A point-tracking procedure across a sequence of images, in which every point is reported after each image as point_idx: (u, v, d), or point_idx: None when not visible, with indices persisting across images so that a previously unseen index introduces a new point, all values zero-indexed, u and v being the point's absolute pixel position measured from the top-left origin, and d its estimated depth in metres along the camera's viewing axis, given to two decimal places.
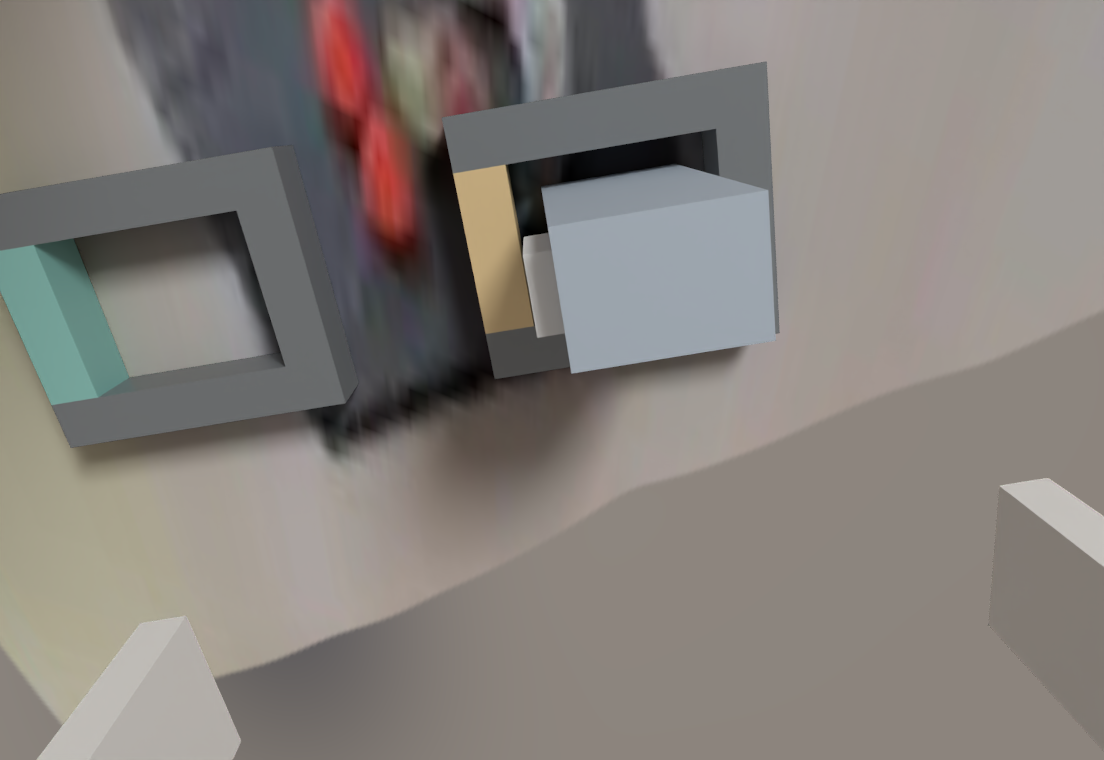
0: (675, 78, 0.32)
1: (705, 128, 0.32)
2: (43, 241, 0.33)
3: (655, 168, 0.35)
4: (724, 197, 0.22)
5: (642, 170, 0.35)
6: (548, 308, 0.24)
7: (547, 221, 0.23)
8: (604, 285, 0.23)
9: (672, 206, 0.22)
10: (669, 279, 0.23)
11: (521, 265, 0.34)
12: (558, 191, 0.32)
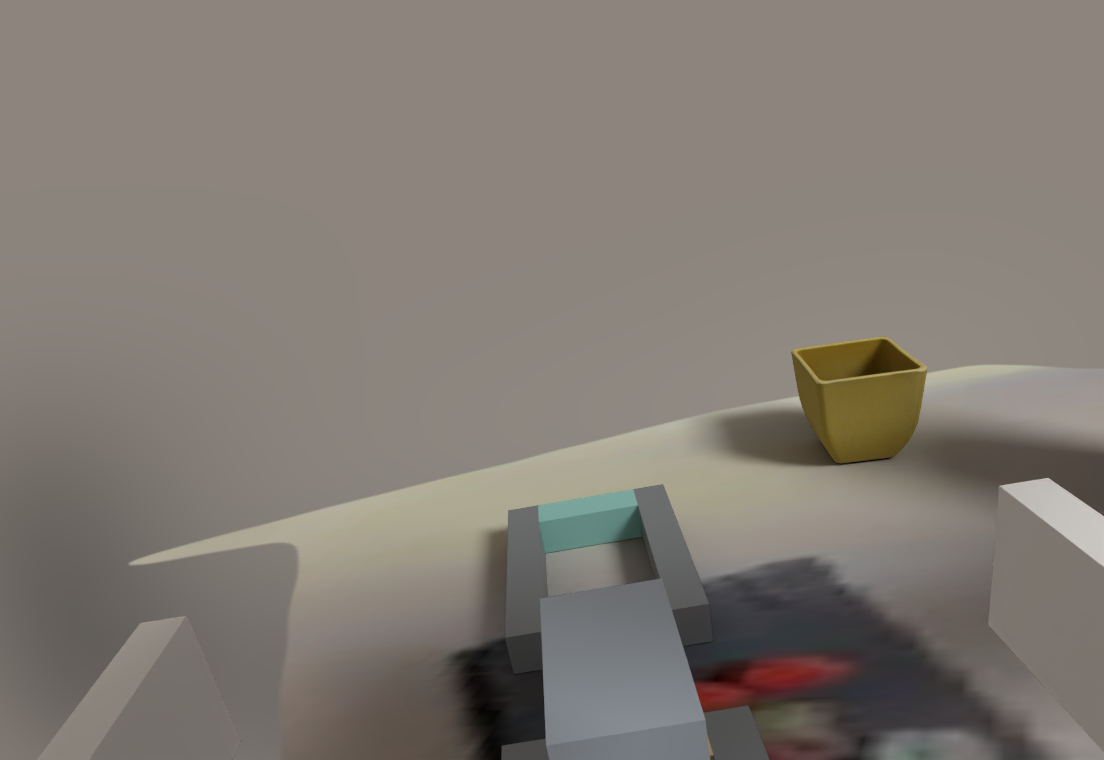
0: None
1: None
2: (640, 508, 0.55)
3: None
4: (694, 688, 0.23)
5: None
6: None
7: None
8: (614, 612, 0.27)
9: (683, 649, 0.24)
10: (617, 653, 0.25)
11: None
12: None
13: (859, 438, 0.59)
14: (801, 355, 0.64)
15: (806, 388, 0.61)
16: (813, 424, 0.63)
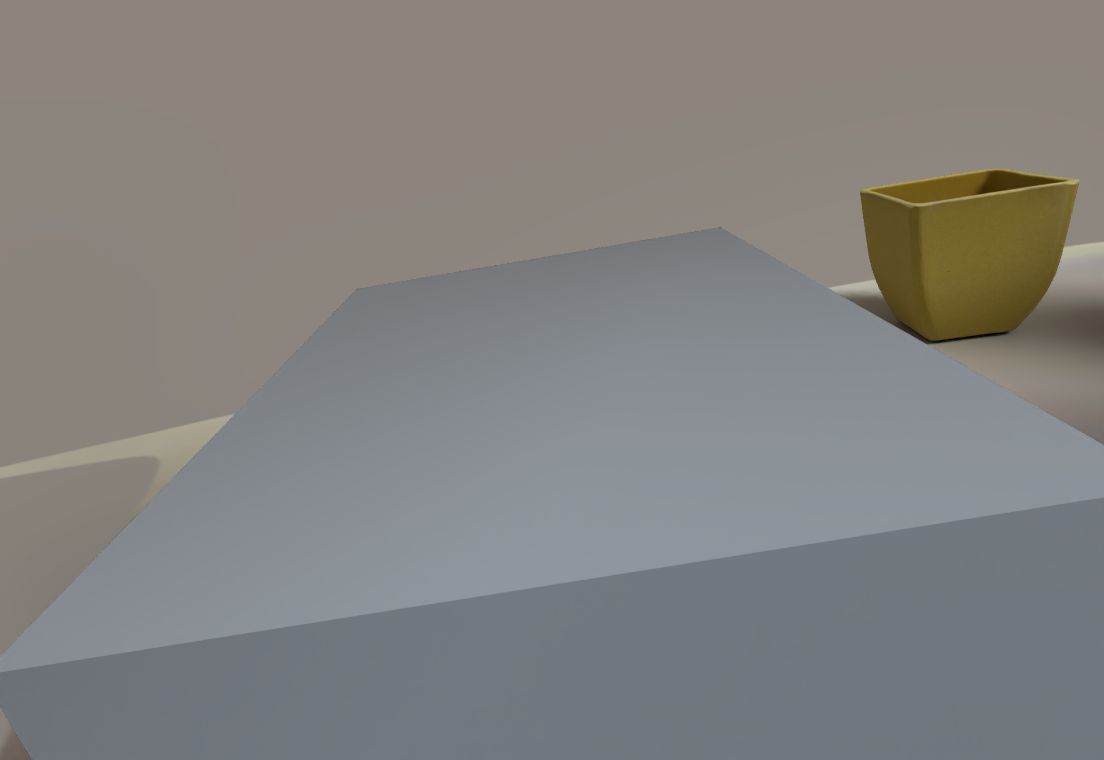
0: None
1: None
2: None
3: None
4: None
5: None
6: None
7: None
8: (570, 278, 0.08)
9: (847, 303, 0.06)
10: (564, 335, 0.06)
11: None
12: None
13: (969, 297, 0.40)
14: None
15: (886, 233, 0.43)
16: (893, 289, 0.44)
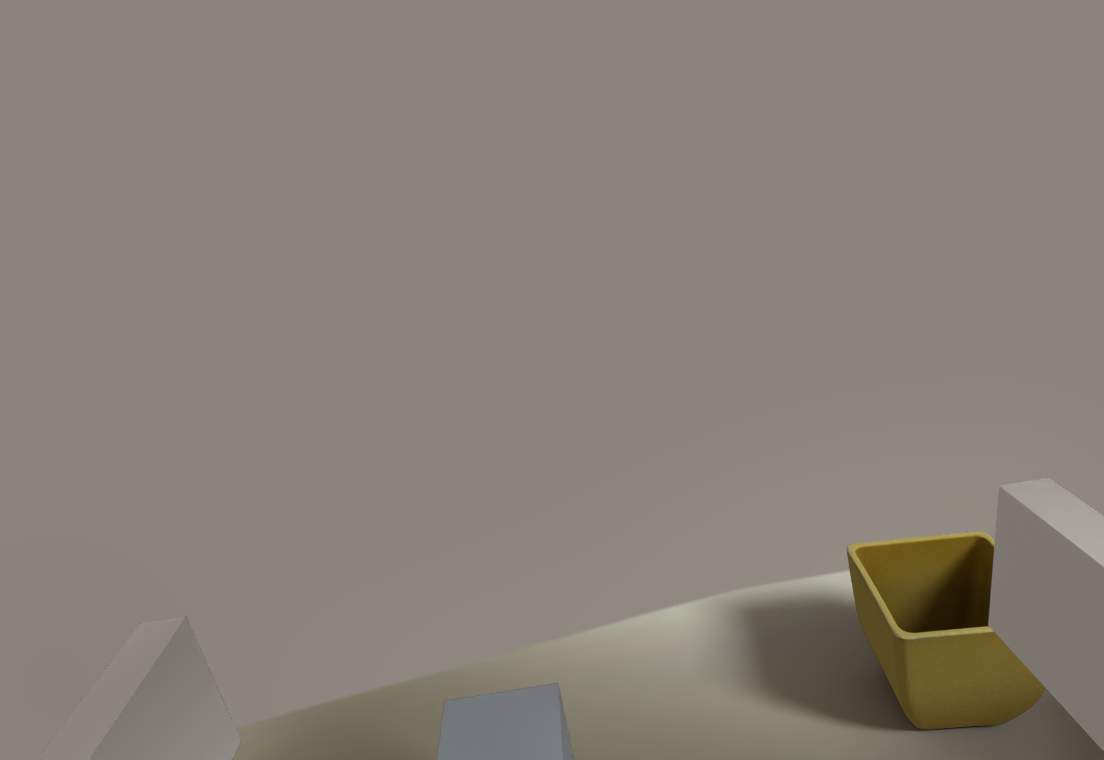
0: None
1: None
2: None
3: None
4: None
5: None
6: None
7: (562, 705, 0.30)
8: (508, 719, 0.29)
9: None
10: None
11: None
12: None
13: (956, 707, 0.39)
14: (861, 554, 0.45)
15: (872, 617, 0.42)
16: (880, 662, 0.43)
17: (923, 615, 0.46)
